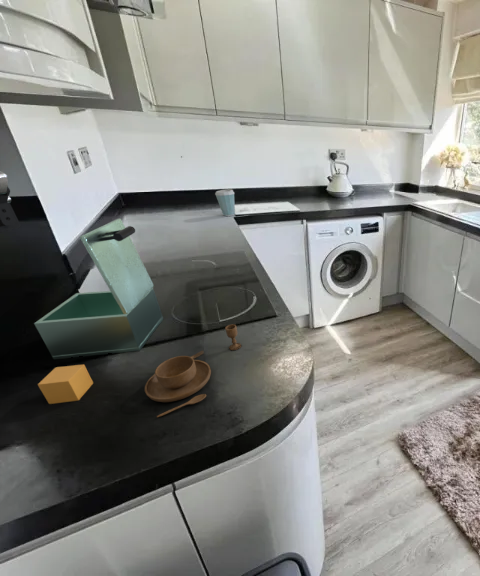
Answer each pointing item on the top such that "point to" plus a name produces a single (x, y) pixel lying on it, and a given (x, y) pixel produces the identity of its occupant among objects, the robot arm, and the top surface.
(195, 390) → the place setting
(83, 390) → the block
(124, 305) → the freezer lid
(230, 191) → the disposable coffee cup
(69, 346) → the box
